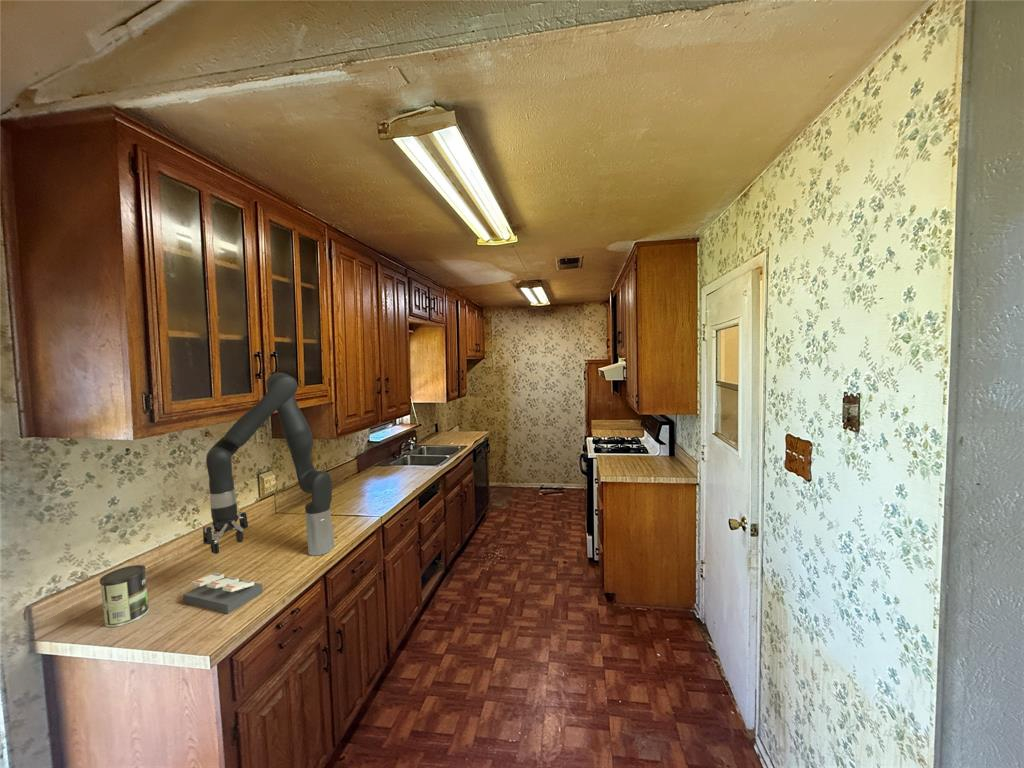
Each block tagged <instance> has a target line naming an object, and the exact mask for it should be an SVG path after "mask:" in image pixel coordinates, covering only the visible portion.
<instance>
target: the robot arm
mask: <svg viewBox="0 0 1024 768" xmlns="http://www.w3.org/2000/svg"><path fill="white" fill-rule="evenodd" d="M265 386H266V390H267V392H266V393H265V394H264V395H263V397H262V398H261V399H260V400H259V401H258V402H257V404H255V405H254V406H253V407H251V408H250V409H249V410H248V411H246V412H245V413H244V414H243V415H241V416H240V418H238V419H237V421H235V423H234V424H233V425H232V426H231V427H230V428H229V429H228V430H227V431H226V433H225V435H223V436H222V437H221V438H220V439H219V440H218V441H217V442H216V443H215V444H213V446H212V447H211V448H210V449H208V451H207V454H206V459H205V460H206V461H205V463H206V468H207V475H208V478H209V479H208V485H209V486H208V487H209V504H210V505H209V506H210V513H211V519H212V524H211V525H208V526H206V525H205V526H203V527H202V534H203V535H202V539H203V544H204V545H209V546H210V551H211V553H212V554H214V555H218V554H219V553H220V547H219V540H220V538H221V537H223V534H226V533H227V532H229V531H232V530H234V531H235V539H236V542H237V543H242V542H243V540H244V538H245V537H244V530H245V529H248V527H249V523H248V518H247V517H248V516H247V513H246V512H243V511H239V512H238V505H237V503H238V502H237V493H236V491H235V482H234V476H233V469H232V468H233V467H232V465H233V464H232V457H233V455H234V454H235V453H236V452H237V451H238V450H239V448H241V447H243V446H245V444H247V442H248V441H249V440H251V438H252V437H253V436H254V434H255V433H256V432H257V430H259V429H260V427H261V426H262V425H263V424H264V423H265V422H266V421H267V420H268V419H269V418H270V417H271V416H272V414H274V413H275V412H276V411H277V414H278V418H279V419H278V420H279V423H280V426H281V430H282V433H283V436H284V440H285V442H286V444H287V448H288V450H289V452H290V453H289V454H290V456H291V459H292V461H293V465H294V469H295V473H296V478H297V482H298V485H299V489H300V490H301V491H302V492H304V493H306V494H310V495H311V501H309V502H307V503H306V504H305V506H304V509H305V510H304V511H305V512H304V513H305V524H306V525H305V526H306V527H305V529H306V540H307V541H306V543H307V544H306V545H307V554H308V555H309V556H322V555H325V554H328V553H329V552H331V551H332V550H333V548H334V547H335V535H334V534H335V533H334V532H335V531H334V525H333V523H332V515H331V503H332V500H333V481H332V478H331V474H330V473H328V472H327V471H324V470H316V468H315V466H314V463H313V461H312V451H313V446H314V438H313V433H312V431H311V427H310V425H309V423H308V421H307V419H306V417H305V416H304V414H303V412H302V410H301V409H300V407H299V404H298V403H297V399H296V396H295V394H296V393H297V391H298V388H299V386H298V382H297V380H296V379H295V377H292V376H291V375H289V374H287V373H285V372H273V373H272V374H271V375H269V376H268V378H267V380H266V384H265ZM237 521H239V523H238V522H237Z"/></svg>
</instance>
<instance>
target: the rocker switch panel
mask: <svg viewBox="0 0 1024 768" xmlns="http://www.w3.org/2000/svg"><path fill="white" fill-rule="evenodd" d="M226 578H230V577H227V576H224V578H222V579H226ZM222 579H219V580H222ZM216 581H218V580H216ZM241 581H245V580H244V579H243V580H242V579H239V582H241ZM237 583H238V582H237ZM230 585H231V584H230ZM222 588H223V587H219V588H216V589H215V588H210V587H207V584H206V585H203V586H201V587H199V586H196V587H195V588H193V589H191V590H189V591H187V592H185V593H184V594H183V595H182V596H183V604H185V605H188V606H193V607H197V608H201V609H206V610H211V611H213V612H218V613H222V614H227V615H229V614H231V613H232V612H234V611H235V610H237V609H239V608H240V607H243V606H244V605H245V604H247V603H249V602H250V601H252V600H253V599H255V598H257V597H258V596H260V595H261V594H263V584H262V583H257V582H254V585H253V586H250V587H246V588H244V589H240V590H236V591H233V592H229V591H224V590H222Z"/></svg>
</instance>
